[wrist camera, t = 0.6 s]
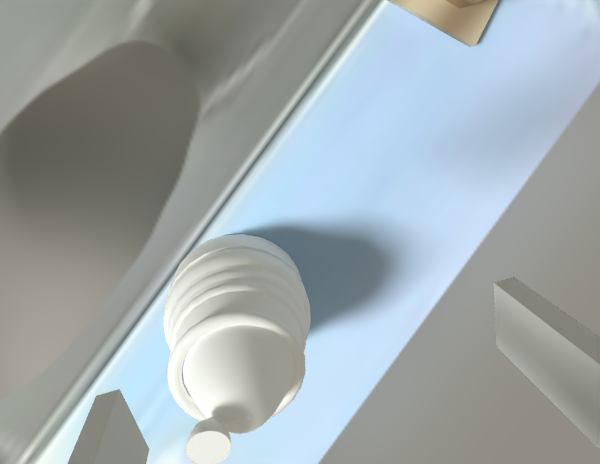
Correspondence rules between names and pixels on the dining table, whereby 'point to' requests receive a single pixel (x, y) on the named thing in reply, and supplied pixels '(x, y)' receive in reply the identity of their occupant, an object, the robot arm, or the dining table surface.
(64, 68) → the dining table surface
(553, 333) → the robot arm
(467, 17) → the square wooden frame
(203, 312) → the honey pot
